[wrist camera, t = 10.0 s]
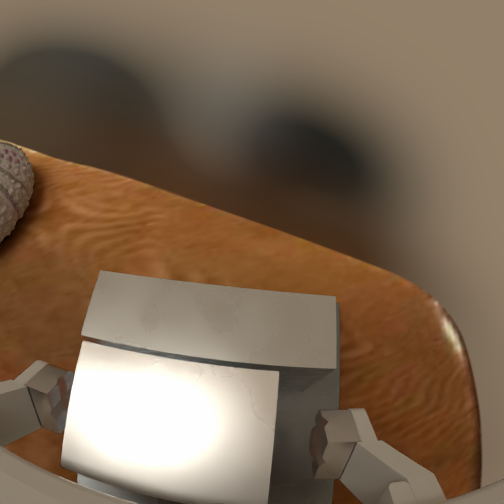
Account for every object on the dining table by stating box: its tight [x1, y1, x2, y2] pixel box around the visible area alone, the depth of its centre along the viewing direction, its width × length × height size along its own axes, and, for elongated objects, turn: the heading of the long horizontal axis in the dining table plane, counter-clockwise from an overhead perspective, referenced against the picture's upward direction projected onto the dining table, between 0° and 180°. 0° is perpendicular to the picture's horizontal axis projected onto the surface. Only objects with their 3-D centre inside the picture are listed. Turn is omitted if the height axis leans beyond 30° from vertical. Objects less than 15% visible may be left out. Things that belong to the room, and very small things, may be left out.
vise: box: [77, 270, 340, 504], centre depth 11 cm, size 24×14×8 cm, turn 175°
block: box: [60, 341, 279, 504], centre depth 10 cm, size 4×5×10 cm
